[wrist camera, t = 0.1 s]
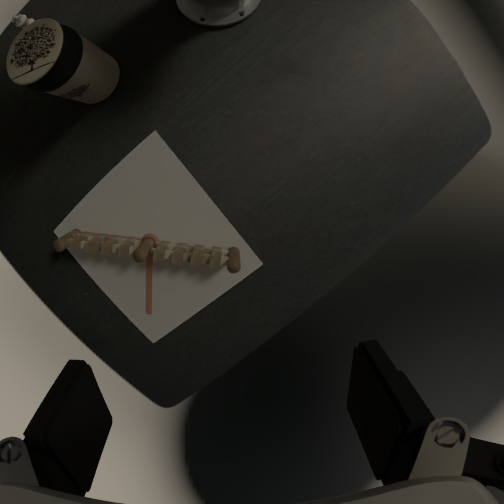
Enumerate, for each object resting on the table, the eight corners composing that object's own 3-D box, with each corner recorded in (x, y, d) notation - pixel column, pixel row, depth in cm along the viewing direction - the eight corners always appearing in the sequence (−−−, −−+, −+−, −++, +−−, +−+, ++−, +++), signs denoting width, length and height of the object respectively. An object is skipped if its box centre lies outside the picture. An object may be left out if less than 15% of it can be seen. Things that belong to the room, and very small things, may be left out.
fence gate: (157, 250, 46) (147, 263, 41) (157, 238, 46) (148, 250, 40) (238, 259, 47) (239, 274, 42) (240, 247, 47) (241, 261, 41)
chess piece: (59, 37, 35) (27, 20, 26) (35, 51, 35) (1, 38, 26) (56, 15, 34) (26, -4, 24) (32, 30, 34) (0, 14, 24)
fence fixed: (72, 238, 45) (53, 251, 39) (72, 227, 45) (52, 238, 39) (156, 248, 47) (145, 263, 41) (156, 236, 46) (145, 250, 40)
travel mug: (76, 58, 37) (10, 27, 20) (122, 51, 37) (69, 7, 20) (71, 106, 39) (-1, 93, 22) (118, 101, 40) (58, 78, 23)
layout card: (54, 231, 45) (53, 231, 45) (155, 130, 42) (154, 130, 41) (153, 342, 52) (153, 343, 51) (262, 263, 48) (263, 264, 48)
